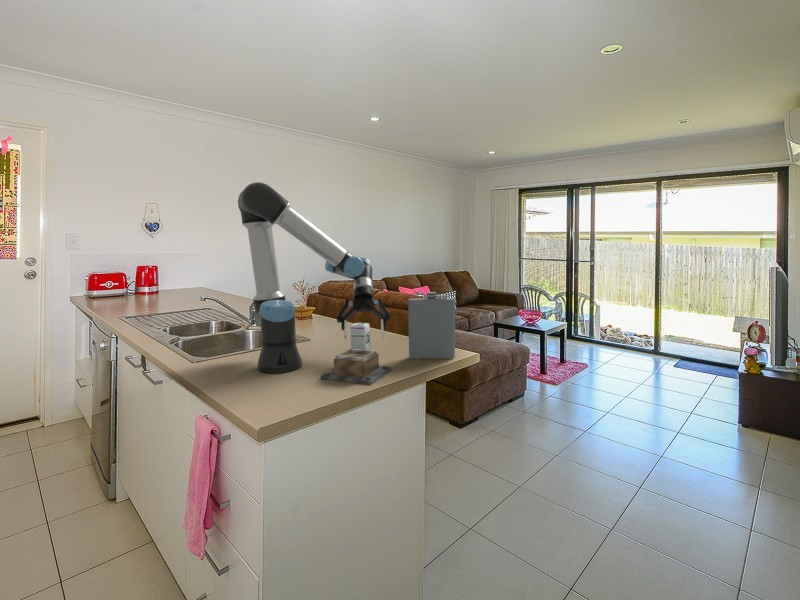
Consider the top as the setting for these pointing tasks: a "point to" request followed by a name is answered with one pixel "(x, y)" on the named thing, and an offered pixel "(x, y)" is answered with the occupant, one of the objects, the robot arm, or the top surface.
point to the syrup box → (360, 336)
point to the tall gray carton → (431, 327)
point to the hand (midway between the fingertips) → (364, 336)
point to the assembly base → (357, 379)
